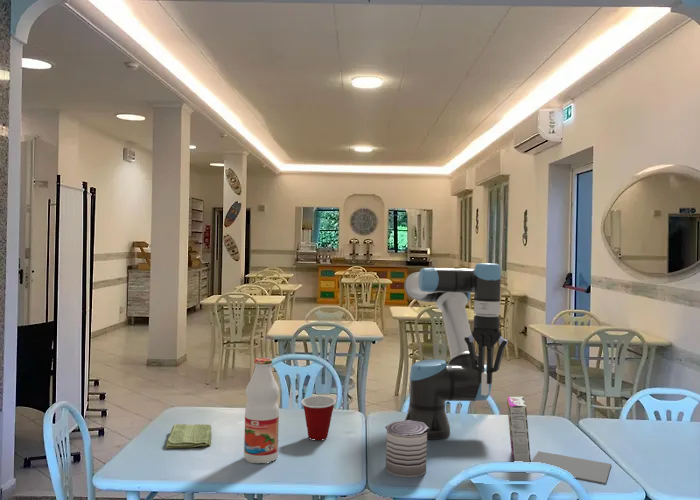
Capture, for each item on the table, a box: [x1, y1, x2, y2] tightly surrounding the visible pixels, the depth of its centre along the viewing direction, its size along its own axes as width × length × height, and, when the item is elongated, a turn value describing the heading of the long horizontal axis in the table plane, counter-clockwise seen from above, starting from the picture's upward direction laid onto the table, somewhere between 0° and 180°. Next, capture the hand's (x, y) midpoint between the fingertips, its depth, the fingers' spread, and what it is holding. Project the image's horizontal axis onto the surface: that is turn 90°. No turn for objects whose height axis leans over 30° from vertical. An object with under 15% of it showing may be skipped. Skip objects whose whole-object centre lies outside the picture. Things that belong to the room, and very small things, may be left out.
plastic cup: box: [300, 395, 337, 441], centre depth 188 cm, size 11×11×12 cm
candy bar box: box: [506, 396, 532, 462], centre depth 175 cm, size 11×5×16 cm, turn 169°
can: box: [384, 419, 429, 478], centre depth 163 cm, size 11×11×12 cm
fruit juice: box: [243, 357, 280, 464], centre depth 169 cm, size 9×9×28 cm
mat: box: [531, 450, 612, 485], centre depth 168 cm, size 20×16×1 cm
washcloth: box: [165, 423, 212, 449], centre depth 184 cm, size 13×18×3 cm
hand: (484, 394), depth 179 cm, fingers closed
